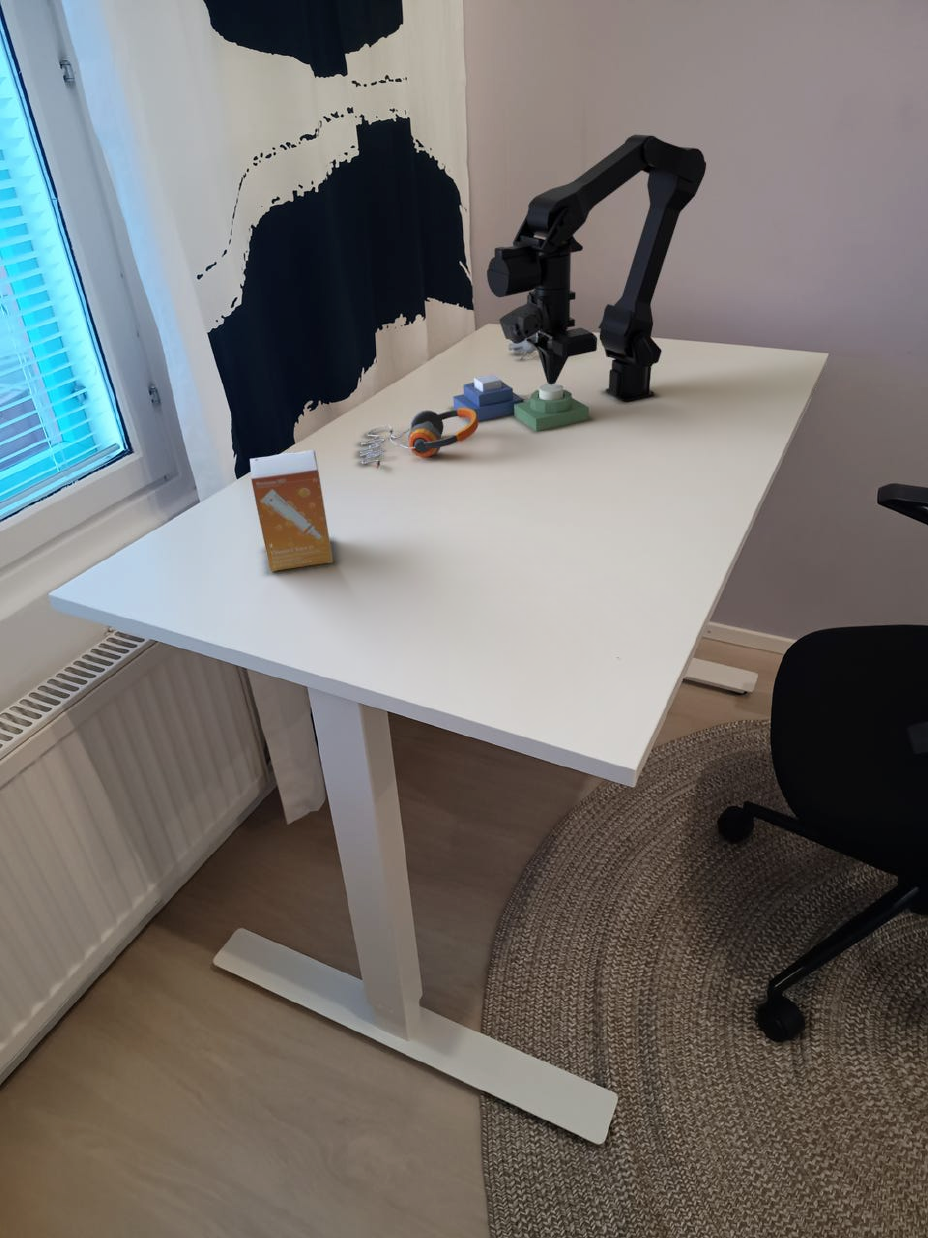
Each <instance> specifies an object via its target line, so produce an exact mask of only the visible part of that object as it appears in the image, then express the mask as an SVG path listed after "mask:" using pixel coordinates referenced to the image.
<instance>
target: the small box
mask: <svg viewBox="0 0 928 1238" xmlns="http://www.w3.org/2000/svg"><path fill="white" fill-rule="evenodd" d="M249 466H250V480H251V486H252V492H253V497H254V502H255V507H256V512H257V516H258V520H259V526H260V530H261V534H262V541H263V545H264V549H265V554H266V558H267V563H268V568H269V572H271V573H272V572H277V571H282V570H288V569H294V568H295V569H296V568H301V567H307V566H314V565H320V564H329V563H330V564H331V563H333V561H334V559H333V553H332V548H331V541H330V534H329V527H328V522H327V515H326V509H325V503H324V496H323V490H322V484H321V477H320V472H319V466H318V460H317V455H316V451H315V449H311V450H304V451H297V452H287V453H279V454H274V455H268V456H261V457H254V458H249Z"/></svg>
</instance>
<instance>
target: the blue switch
mask: <svg viewBox="0 0 928 1238" xmlns="http://www.w3.org/2000/svg"><path fill="white" fill-rule="evenodd" d="M462 387H463V394H458V395H454V396H452V399H453V410H458V409H459V408H468V409H472V410H473V411H475V413H476V415H477V417H478V423H479V422H483V421H488V420H492V419H493V420H494V419H497V418H503V417H505V416H510V415H514V404H518V403H523V402H525V399H524V397H522V396H520V395H518V394H517V393H516V392H514V388H513V387H511V386H510V385H508V384H507V383H505V382H504V381H502V380H501V387H502V388H501V389H496V390H491V391H486V392H481V391H479V390H478V389H477V388H475V387H474V382H470V383H465V384H463V385H462ZM466 419H467V420H468V421H469V422H470V421H471V419H469V418H466Z"/></svg>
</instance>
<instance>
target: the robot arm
mask: <svg viewBox="0 0 928 1238" xmlns="http://www.w3.org/2000/svg"><path fill="white" fill-rule="evenodd" d="M706 169H707V161H705V156H704V153H703V152H702V150H700V149H699V148H697V147H687V146H686V147H685V146H677V145H675V144H672V143H669V142H667V141H664V140H662V139H660V138H658V137H657V136H655V135H650V134H648V135H647V134H633V135H631V136H628V137H627V139H625V141H624V143H622V144H620V146H619V147H617V148H616V149H615V150H613V151H612V152H611V153H609V154H608V155H606V156H605V157H604V158H602V159H601V160H600V161H599V162H597V163H596V164H594V165H593V166H592V167H590V168H588V170H587V171H585V172H584V173H582V174H581V175H580V176H578V177H577V178H576V179H574V180H573V181H571V182H569V183H566V184H563V185H560V186H556V187H552V188H550V189H548V190H546V191H544V192H542V193H540V194H538V195H536V196H534V197H533V198H532V200H530V202H529V203H528V205H527V208H528V209H527V212H526V215H525V217H524V219H523V221H522V223H521V226H520V227H519V230H518V231H517V233H516V235H515V237H514V239H513V242H512V245H510V246H497V247H494V251H493V252H494V256H493V257H492V258H491V259H490V262H489V264H488V269H487V270H486V279H487V283H488V286H489V289H490V290H491V293H492V294H493V295H494V296H495V297H497V298H504V297H505V298H506V297H509V296H513V295H517V294H518V295H519V294H524V293H526V292H528V294H527V295H526V303H524V304H523V305H520V306H518V307H515V309H513V310H512V311H509V312H508V313H506V314H504V315H503V316H502V317H500V318H499V320H498V322H499V325H500V327H501V330H502V332H503V333H502V334H503V335H504V337H505V340H509V341H511V342H512V344H513V343H515V344H518V343H521V342H523V341H524V340H525V338H529V337H530V338H529V339H526V341H527V342H528V343H530V344H531V345H532V346H533V347H534V348H536V349H537V350H536V351H537V354H538V357H539V359H540V362H541V366H542V369H543V372H544V376H545V380H546V384H550V385H551V384H557V381H558V379H559V377H560V374H561V373H562V371H563V368H564V366H565V365H566V363H567V361H568V359H569V357H574V356H578V355H583V354H588V353H594V352H596V351H597V350H598V337H597V335H595V334H594V333H593V332H592V331H590V330H587V329H585V328H583V327H578V328H572V327H575V326H576V319H574V318H572V317H571V301H573V300H576V295H577V294H576V291H573V290H571V274H572V273H571V269H572V266H571V265H572V253H573V254H574V253H577V252H582V251H583V249H584V246H583V245H582V244H581V243H579V242H578V241H577V240H576V238H575V236H574V235H575V234H576V233H577V232H578V231H579V230H580V228H581V227H583V225H584V224H585V223H586V222H587V220H588V217H589V214H590V212H591V211H592V210H593V209H594V207H596V206H597V205H598V204H600V203H601V202H602V201H603V200H605V199H606V198H607V197H609V196H610V195H612V194H613V193H614V192H615V191H617V190H618V189H619V188H621V187H622V186H623V185H625V184H626V183H627V182H629V181H630V180H631V179H633V178H634V177H635V176H636V175H638V174H639V173H640V172H644V173H646V174H648V178H647V183H646V187H647V193H648V199H649V208H648V210H647V214H646V217H645V221H644V223H643V227H642V230H641V233H640V237H639V240H638V242H637V243H638V244H637V246H636V250H635V253H634V257H633V260H632V263H631V266H630V270H629V272H628V276H627V279H626V283H625V286H624V289H623V292H622V295H621V297H620V298H619V299H618V300H617V301H616V302H615V303H614V304H610V303H607V304H606V305H605V307H604V310H603V317H602V319H601V322H600V324H599V325H598V329H600V332H599V341H600V342H601V345H602V347H603V349H604V353H605V356H606V358H610V359H612V360H611V369H609V372H608V373H609V375H608V376H609V377H608V388H605V393H606V394H609V395H610V396H612V397H614V398H615V399H618V400H620V401H622V402H623V403H628V402H631V401H635V400H636V401H637V400H641V399H644V398H650V397H654V396H655V393H656V392H655V391H653V390H651V389H650V388H651V377H652V376H651V374H652V367H653V365H655V364H658V363H659V361H660V358H661V355H662V352H663V351H662V349H661V347H660V346H658V344H657V343H656V342H655V341H654V339H652V333H653V327H654V319H653V313H652V307H651V304H652V300H653V297H654V295H655V292H656V288H657V285H658V282H659V278H660V276H661V273H662V269H663V266H664V263H665V261H666V257H667V254H668V252H669V248H670V245H671V242H672V238H673V235H674V233H675V228H676V226H677V223H678V220H679V216H680V214H681V213H682V211H683V210H684V209H685V208H686V207H687V206H688V204H689V203H690V202H691V201H692V200H693V199H694V198H695V196H696V194H697V192H698V190H699V189H700V186H701V183H702V181H703V179H704V177H705V175H706ZM535 236H536V237H535ZM569 328H572V329H569Z"/></svg>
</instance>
